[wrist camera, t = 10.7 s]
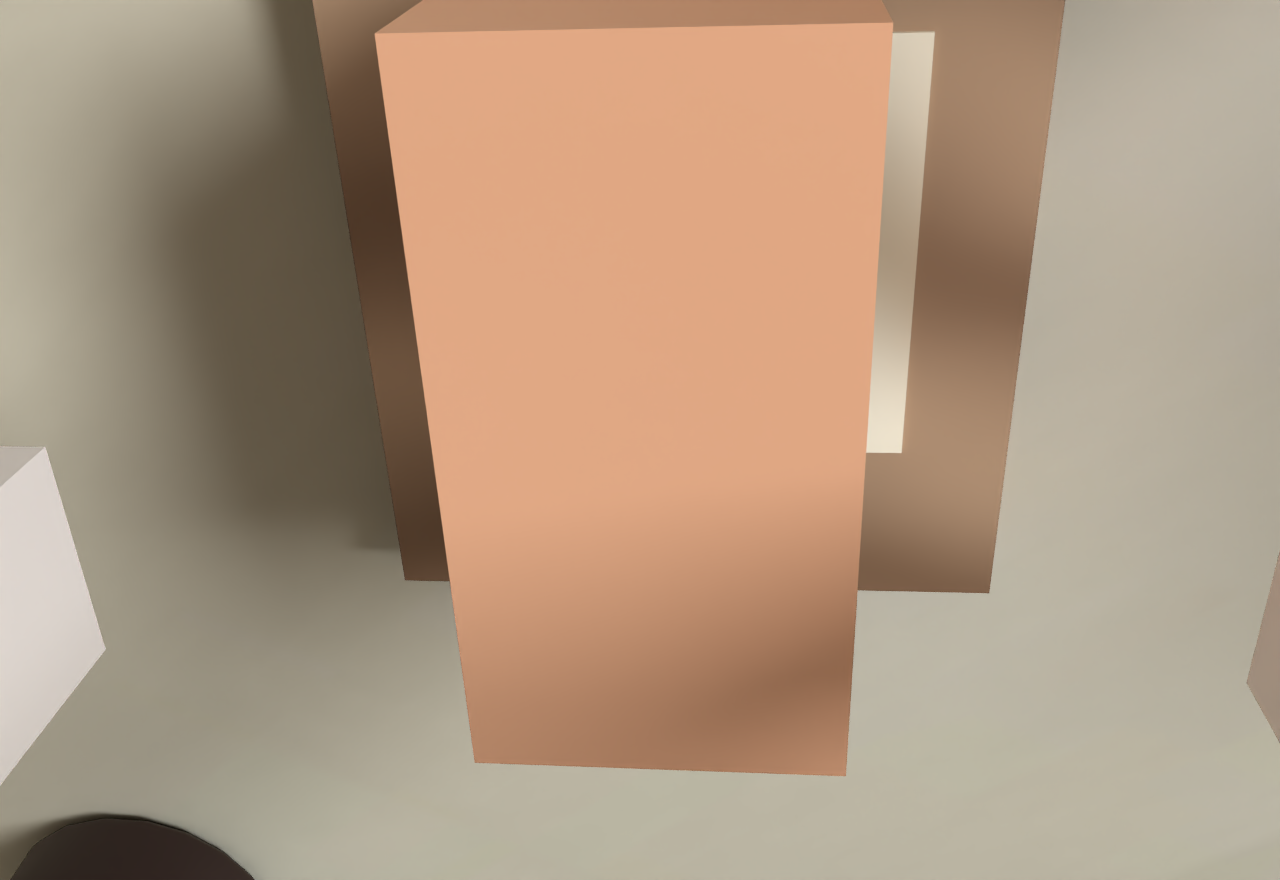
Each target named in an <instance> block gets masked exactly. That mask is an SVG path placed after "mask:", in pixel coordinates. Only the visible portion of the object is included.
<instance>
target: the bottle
mask: <svg viewBox="0 0 1280 880" xmlns="http://www.w3.org/2000/svg"><path fill="white" fill-rule="evenodd" d="M10 880H254V879H253V877H252V876H251V875H250V874H249V873H248V872H246V871H245V870H244V869H243V868H242V867H241V866H239V865H238V864H237V863H236V862H235V861H234V860H232V859H231V858H230V857H229V856H228V855H227V854H225V853H224V852H223V851H221V850H219V849H218V848H216V847H214V846H212V845H210V844H208V843H206V842H204V841H202V840H200V839H199V838H197V837H195V836H193V835H191V834H189V833H187V832H184V831H180V830H177V829H173V828H170V827H166V826H163V825H159V824H156V823H153V822H149V821H139V820H123V819H98V820H93V821H88V822H83V823H78V824H73V825H67V826H65V827H63V828H61V829H60V830H58V831H56V832H55V833H53V834H51V835H49V836H48V837H46V838H44V839H43V840H41V841H39V842H38V843H37V844H36V845H34V846H33V847H32V848H31V850H30V851H29V853H28V854H27V856H26V857H25V859H24V860H23V862H22V863H21V865H20V866H19V868H18V869H17V871H16V872H15V874H14V875H13V876H12V878H11V879H10Z"/></svg>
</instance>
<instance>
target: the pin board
mask: <svg viewBox="0 0 1280 880" xmlns="http://www.w3.org/2000/svg"><path fill="white" fill-rule="evenodd" d="M312 1H313V8H314V14H315V20H316V26H317V33H318V39H319V45H320V51H321V58H322V64H323V70H324V76H325V83H326V89H327V95H328V101H329V108H330V114H331V120H332V126H333V133H334V139H335V145H336V151H337V158H338V164H339V170H340V176H341V183H342V189H343V195H344V201H345V208H346V214H347V220H348V226H349V233H350V239H351V245H352V251H353V258H354V264H355V270H356V276H357V283H358V289H359V295H360V301H361V308H362V314H363V320H364V326H365V333H366V339H367V345H368V351H369V358H370V364H371V370H372V376H373V383H374V389H375V395H376V401H377V408H378V414H379V420H380V427H381V433H382V439H383V445H384V452H385V458H386V464H387V470H388V477H389V483H390V489H391V495H392V502H393V508H394V514H395V520H396V527H397V533H398V539H399V545H400V552H401V558H402V564H403V570H404V577H405V580H419V581H450V578H449V571H448V564H447V557H446V549H445V542H444V535H443V527H442V520H441V513H440V506H439V498H438V491H437V484H436V477H435V469H434V462H433V455H432V448H431V440H430V433H429V426H428V419H427V411H426V404H425V397H424V390H423V382H422V375H421V368H420V360H419V353H418V346H417V339H416V331H415V324H414V317H413V310H412V302H411V295H410V288H409V281H408V273H407V266H406V259H405V252H404V244H403V237H402V230H401V223H400V215H399V208H398V201H397V193H396V186H395V179H394V172H393V164H392V157H391V150H390V143H389V135H388V128H387V121H386V114H385V106H384V99H383V92H382V85H381V77H380V70H379V63H378V56H377V48H376V41H375V33H376V32H377V31H379V30H380V29H382V28H383V27H385V26H386V25H388V24H389V23H391V22H392V21H393V20H395V19H396V18H398V17H399V16H401V15H402V14H404V13H405V12H406V11H408V10H409V9H411V8H412V7H414V6H415V5H417V4H418V3H420V2H421V1H422V0H312ZM882 2H883V4H884V5H885V7H886V9H887V11H888V13H889V15H890V17H891V19H892V21H893V36H892V52H891V68H890V84H889V99H888V115H887V131H886V147H885V163H884V178H883V194H882V210H881V226H880V242H879V258H878V273H877V289H876V305H875V321H874V337H873V353H872V368H871V384H870V400H869V416H868V432H867V447H866V463H865V479H864V495H863V511H862V527H861V542H860V558H859V574H858V590H871V591H917V592H962V593H989V590H990V582H991V574H992V566H993V558H994V551H995V543H996V535H997V527H998V519H999V512H1000V504H1001V496H1002V488H1003V480H1004V473H1005V465H1006V457H1007V449H1008V441H1009V434H1010V426H1011V418H1012V410H1013V402H1014V395H1015V387H1016V379H1017V371H1018V363H1019V356H1020V348H1021V340H1022V332H1023V324H1024V317H1025V309H1026V301H1027V293H1028V285H1029V278H1030V270H1031V262H1032V254H1033V246H1034V239H1035V231H1036V223H1037V215H1038V207H1039V200H1040V192H1041V184H1042V176H1043V168H1044V161H1045V153H1046V145H1047V137H1048V129H1049V122H1050V114H1051V106H1052V98H1053V90H1054V83H1055V75H1056V67H1057V59H1058V51H1059V44H1060V36H1061V28H1062V20H1063V12H1064V4H1065V0H882Z"/></svg>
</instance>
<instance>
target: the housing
mask: <svg viewBox="0 0 1280 880" xmlns="http://www.w3.org/2000/svg"><path fill="white" fill-rule="evenodd" d="M892 36H893V21H892V19H891V17H890V15H889V13H888V11H887V9H886V7H885V5H884V4H883V2H882V0H422V1H421V2H420V3H418V4H417V5H415V6H414V7H412V8H411V9H409V10H408V11H406V12H405V13H404V14H402V15H401V16H399V17H398V18H396V19H395V20H393V21H392V22H391V23H389V24H388V25H386V26H385V27H383V28H382V29H380V30H379V31H377V32H376V33H375V41H376V48H377V56H378V63H379V70H380V77H381V85H382V92H383V99H384V106H385V114H386V121H387V128H388V135H389V143H390V150H391V157H392V164H393V172H394V179H395V186H396V193H397V201H398V208H399V215H400V223H401V230H402V237H403V244H404V252H405V259H406V266H407V273H408V281H409V288H410V295H411V302H412V310H413V317H414V324H415V331H416V339H417V346H418V353H419V360H420V368H421V375H422V382H423V390H424V397H425V404H426V411H427V419H428V426H429V433H430V440H431V448H432V455H433V462H434V469H435V477H436V484H437V491H438V498H439V506H440V513H441V520H442V527H443V535H444V542H445V549H446V557H447V564H448V571H449V578H450V586H451V593H452V600H453V607H454V615H455V622H456V629H457V636H458V644H459V651H460V658H461V665H462V673H463V680H464V687H465V694H466V702H467V709H468V716H469V724H470V731H471V738H472V745H473V753H474V760H475V763H500V764H527V765H554V766H582V767H609V768H636V769H664V770H691V771H718V772H746V773H773V774H800V775H828V776H846V764H847V748H848V732H849V716H850V701H851V685H852V669H853V653H854V637H855V622H856V606H857V590H858V574H859V558H860V542H861V527H862V511H863V495H864V479H865V463H866V447H867V432H868V416H869V400H870V384H871V368H872V353H873V337H874V321H875V305H876V289H877V273H878V258H879V242H880V226H881V210H882V194H883V178H884V163H885V147H886V131H887V115H888V99H889V84H890V68H891V52H892Z"/></svg>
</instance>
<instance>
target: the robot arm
mask: <svg viewBox="0 0 1280 880" xmlns="http://www.w3.org/2000/svg"><path fill="white" fill-rule="evenodd" d="M105 650H106V649H105V645H104V642H103V639H102V635H101V632H100V629H99V625H98V622H97V619H96V615H95V612H94V608H93V605H92V602H91V598H90V595H89V592H88V588H87V585H86V582H85V578H84V575H83V572H82V568H81V565H80V562H79V558H78V555H77V551H76V548H75V545H74V541H73V538H72V535H71V531H70V528H69V525H68V521H67V518H66V515H65V511H64V508H63V504H62V501H61V498H60V494H59V491H58V488H57V484H56V481H55V478H54V474H53V471H52V468H51V464H50V461H49V457H48V454H47V451H46V447H31V446H0V785H1V784H2V782H3V781H4V780H5V779H6V777H7V776H8V775H9V773H10V772H11V771H12V770H13V768H14V767H15V766H16V764H17V763H18V762H19V760H20V759H21V758H22V757H23V755H24V754H25V753H26V751H27V750H28V749H29V748H30V746H31V745H32V744H33V742H34V741H35V740H36V739H37V737H38V736H39V735H40V733H41V732H42V731H43V730H44V728H45V727H46V726H47V724H48V723H49V722H50V721H51V719H52V718H53V717H54V715H55V714H56V713H57V712H58V710H59V709H60V708H61V706H62V705H63V704H64V703H65V701H66V700H67V699H68V697H69V696H70V695H71V694H72V692H73V691H74V690H75V688H76V687H77V686H78V685H79V683H80V682H81V681H82V679H83V678H84V677H85V676H86V674H87V673H88V672H89V670H90V669H91V668H92V667H93V665H94V664H95V663H96V661H97V660H98V659H99V657H100V656H101V655H102V654H103V652H104V651H105ZM1247 684H1248V686H1249V688H1250V690H1251V692H1252V693H1253V695H1254V697H1255V699H1256V701H1257V702H1258V704H1259V706H1260V708H1261V710H1262V712H1263V713H1264V715H1265V717H1266V719H1267V721H1268V722H1269V724H1270V726H1271V728H1272V730H1273V731H1274V733H1275V735H1276V737H1277V739H1278V741H1279V742H1280V552H1279V556H1278V560H1277V564H1276V568H1275V572H1274V576H1273V580H1272V584H1271V588H1270V592H1269V596H1268V600H1267V604H1266V608H1265V612H1264V616H1263V620H1262V624H1261V628H1260V632H1259V636H1258V640H1257V644H1256V648H1255V652H1254V656H1253V660H1252V664H1251V667H1250V671H1249V675H1248V679H1247Z"/></svg>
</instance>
